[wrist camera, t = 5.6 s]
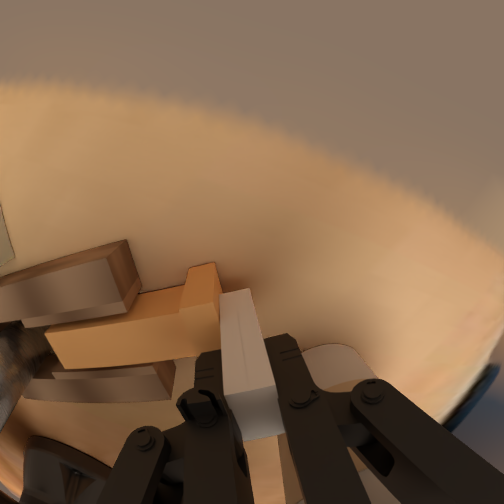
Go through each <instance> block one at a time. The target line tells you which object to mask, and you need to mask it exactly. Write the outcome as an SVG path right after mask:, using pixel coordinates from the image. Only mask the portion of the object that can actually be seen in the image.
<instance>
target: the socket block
mask: <svg viewBox="0 0 504 504" xmlns="http://www.w3.org/2000/svg"><path fill="white" fill-rule="evenodd" d="M141 286H142V285H141V282H140V279H139V276H138V273H137V271H136V268H135V265H134V262H133V259H132V256H131V252H130V249H129V246H128V243H127V240H122V241H118V242H114V243H111V244H107V245H104V246H100V247H96V248H93V249H89V250H86V251H83V252H79V253H76V254H72V255H69V256H66V257H62V258H59V259H56V260H52V261H49V262H46V263H43V264H40V265H36V266H33V267H30V268H27V269H24V270H21V271H18V272H15V273H12V274H9V275H6V276H3V277H0V332H1V331H2V330H3V329H4V328H5V327H6V326H7V325H8V324H9V323H10V322H11V321H15V320H21V321H22V323H23V325H24V327H25V328H31V327H38V326H45V325H52V324H59V323H65V322H72V321H78V320H84V319H91V318H97V317H103V316H108V315H114V314H120V313H126V312H128V310H129V308H130V306H131V304H132V302H133V301H134V299H135V297H136V295H137V294H138V292H139V290H140V288H141ZM175 371H176V366H175V364H174V362H173V360H165V361H157V362H150V363H141V364H132V365H122V366H111V367H97V368H81V369H65V368H64V367H63V365H62V363H61V362H60V360H59V358H58V357H57V355H56V354H52V355H48V356H47V357H46V359H45V360H44V362H43V363H42V364H41V366H40V367H39V369H38V370H37V372H36V373H35V375H34V376H33V378H32V380H31V381H30V383H29V384H28V386H27V387H26V389H25V391H24V392H23V394H22V396H23V397H24V398H26V399H34V400H44V401H57V402H75V403H127V402H147V401H160V400H171V397H172V390H173V383H174V377H175Z"/></svg>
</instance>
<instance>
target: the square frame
mask: <svg viewBox="0 0 504 504" xmlns="http://www.w3.org/2000/svg"><path fill="white" fill-rule="evenodd" d="M14 257H15V256H14V253H13V250H12V246H11V243H10V240H9V237H8V233H7V230H6V226H5V222H4V219H3V215H2V210H1V206H0V266H2V265H3V264H5V263H6V262H8V261H9V260H11V259H13V258H14Z"/></svg>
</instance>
